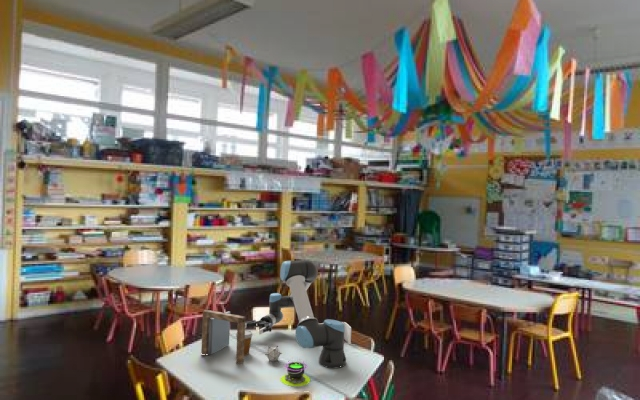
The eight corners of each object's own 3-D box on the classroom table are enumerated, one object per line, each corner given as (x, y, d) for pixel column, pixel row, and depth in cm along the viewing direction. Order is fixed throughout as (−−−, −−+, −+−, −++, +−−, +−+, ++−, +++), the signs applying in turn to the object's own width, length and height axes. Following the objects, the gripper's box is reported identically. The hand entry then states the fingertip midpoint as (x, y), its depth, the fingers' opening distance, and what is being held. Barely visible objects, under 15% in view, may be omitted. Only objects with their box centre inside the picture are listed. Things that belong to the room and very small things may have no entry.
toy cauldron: (274, 378, 231) (275, 357, 230) (297, 371, 241) (298, 350, 241) (293, 389, 220) (294, 366, 219) (316, 381, 230) (317, 359, 229)
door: (209, 355, 256) (211, 319, 255) (204, 354, 257) (205, 318, 256) (229, 344, 273) (230, 311, 272) (224, 343, 274) (225, 310, 273)
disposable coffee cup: (250, 349, 268) (251, 329, 268) (252, 355, 259) (253, 334, 259) (234, 350, 266) (235, 330, 265) (235, 356, 257) (236, 335, 256)
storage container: (344, 339, 295) (345, 322, 295) (350, 344, 284) (351, 327, 284) (307, 341, 288) (307, 323, 287) (311, 347, 277) (312, 329, 277)
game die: (274, 368, 252) (278, 358, 246) (261, 361, 253) (264, 351, 247) (282, 356, 259) (285, 346, 252) (268, 349, 260) (271, 339, 254)
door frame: (243, 362, 250) (245, 316, 249) (240, 363, 247) (242, 318, 246) (204, 353, 260) (206, 309, 259) (201, 354, 257) (202, 310, 256)
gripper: (284, 330, 287) (268, 340, 268) (250, 324, 297) (231, 333, 278) (285, 318, 287) (268, 327, 268) (250, 312, 297) (232, 321, 277)
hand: (249, 330), depth 273 cm, fingers open, 13 cm apart
